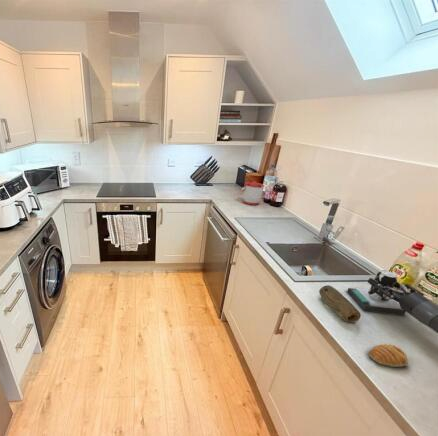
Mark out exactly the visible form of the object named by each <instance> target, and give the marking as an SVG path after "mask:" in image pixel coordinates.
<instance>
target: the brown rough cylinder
mask: <svg viewBox="0 0 438 436" xmlns="http://www.w3.org/2000/svg"><path fill="white" fill-rule="evenodd" d="M318 293H319V296H320V297H321V299H322V300H323V301H324V302H325V303H326V305H328V307H329V308H330V309H331V310H332V311H333V313H335V314H336V315H337V316H338V317H339V318H340V319H342V320H344V322H349V323H355V322H358V321H359V320H360V319H361V317H362V315H361V313H360V311H359V310H358V308H357V307H356V306H355V305H354V304H353V303H351V301H350V300H348V298H346V297H345V296H344V295H343V294H342V293H341V292H340V291H339V290H338V289H336V288H335V287H334V286H331V285H328V284H326V285H323V286H322V287H321V288H320V289H319V290H318Z"/></svg>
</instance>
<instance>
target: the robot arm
mask: <svg viewBox="0 0 438 436" xmlns="http://www.w3.org/2000/svg"><path fill="white" fill-rule="evenodd" d="M374 279H375V278H372V277H370V278H368V280H367V284H368V285H370V286H373V287H374V288H373V290H372V291H373V292H375V293H376V294H378V295H379V296H380V297H382V298H383V299H384V300H386V301H389V299H393V300H395V301H397V302H398V303H399V305H400V307H401V308H402V309H403V310H405V311H406V312H405V313H408V314H409V315H410V316H412V317H413V318H414V319H416V320H417V321H418V322H419V323H421V324H422V325H425V326H426V327H428V328H430V329H431V330H432V331H434V332H435V333H436V334H438V304H437V303H435V302H434V301H432V300H431V299H429V298H427V297H426V296H424V294H425V293H423V292H421V291H420V290H418V289H416V288H415V287H413V286H411V284H408V283H405V284H404V283H402V282H399V281H397V282H396V284H395V286H394V287H393V288H392V287H389V286H383V285H381V284H380V283H378V282H377V281H375V280H374ZM381 287H382V288H384V289H385V290H383V289H382V288H381ZM388 290H390V292H389V293H388V292H387V291H388ZM378 291H379V292H378Z"/></svg>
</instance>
